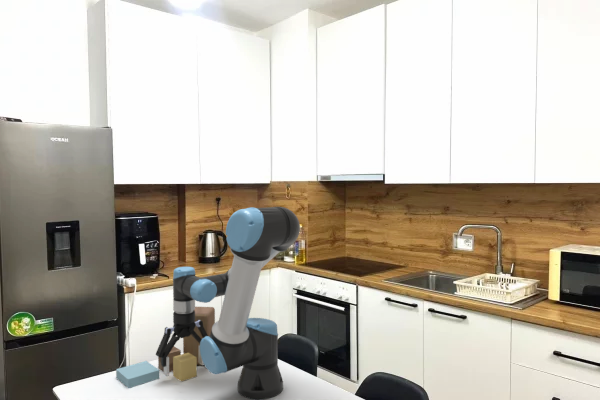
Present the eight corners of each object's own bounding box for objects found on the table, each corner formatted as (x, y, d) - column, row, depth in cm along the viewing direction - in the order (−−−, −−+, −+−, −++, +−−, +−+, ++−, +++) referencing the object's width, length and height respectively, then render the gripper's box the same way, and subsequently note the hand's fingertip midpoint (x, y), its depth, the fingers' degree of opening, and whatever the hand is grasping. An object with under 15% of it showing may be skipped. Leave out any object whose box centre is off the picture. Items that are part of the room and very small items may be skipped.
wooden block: (215, 355, 174) (215, 306, 173) (208, 366, 164) (207, 313, 163) (191, 355, 175) (191, 305, 174) (182, 365, 165) (182, 313, 164)
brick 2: (196, 376, 155) (196, 357, 155) (181, 381, 151) (181, 361, 151) (188, 371, 160) (188, 352, 159) (173, 376, 156) (173, 356, 155)
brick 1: (180, 368, 162) (180, 350, 162) (165, 373, 158) (165, 354, 158) (173, 363, 166) (173, 345, 166) (158, 368, 162) (158, 349, 162)
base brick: (159, 378, 154) (159, 370, 154) (128, 388, 146) (128, 379, 146) (146, 368, 162) (146, 360, 162) (116, 377, 154) (116, 369, 154)
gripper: (209, 302, 166) (209, 356, 167) (145, 315, 149) (146, 375, 150) (220, 306, 160) (219, 362, 161) (155, 320, 144) (155, 383, 144)
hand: (184, 369), depth 156 cm, fingers open, 13 cm apart
